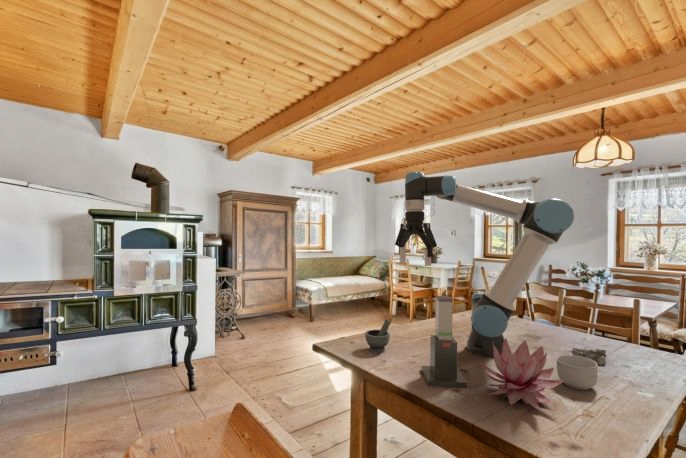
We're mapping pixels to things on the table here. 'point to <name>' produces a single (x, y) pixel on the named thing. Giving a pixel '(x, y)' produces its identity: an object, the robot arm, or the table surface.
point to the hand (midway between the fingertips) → (414, 264)
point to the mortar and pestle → (378, 338)
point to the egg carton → (591, 354)
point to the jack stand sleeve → (443, 365)
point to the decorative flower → (522, 374)
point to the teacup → (577, 371)
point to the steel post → (443, 318)
